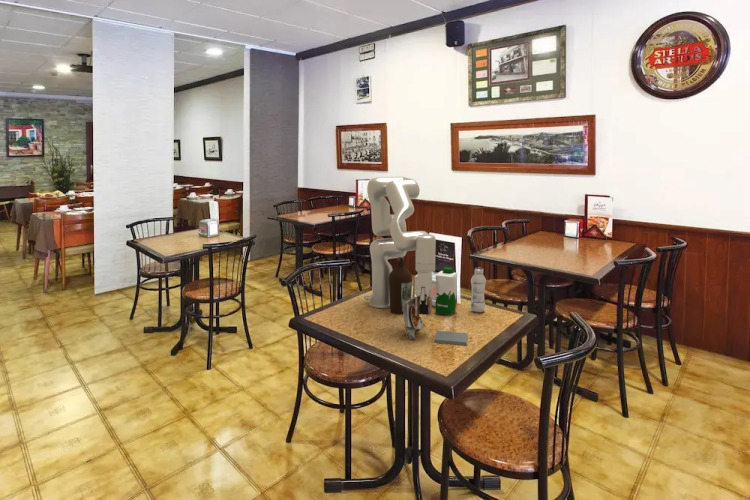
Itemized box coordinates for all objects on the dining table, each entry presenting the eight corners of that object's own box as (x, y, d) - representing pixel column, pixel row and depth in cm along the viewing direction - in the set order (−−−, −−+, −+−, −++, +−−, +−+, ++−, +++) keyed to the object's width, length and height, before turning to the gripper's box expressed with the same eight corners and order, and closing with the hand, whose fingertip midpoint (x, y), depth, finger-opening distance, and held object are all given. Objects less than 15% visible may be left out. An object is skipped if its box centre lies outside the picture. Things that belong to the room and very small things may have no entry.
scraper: (415, 315, 172) (415, 298, 170) (418, 308, 179) (418, 292, 178) (429, 316, 170) (430, 299, 169) (432, 309, 178) (432, 293, 176)
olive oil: (383, 311, 203) (383, 257, 198) (399, 305, 210) (400, 253, 205) (401, 316, 195) (401, 261, 190) (416, 311, 203) (417, 257, 197)
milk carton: (457, 310, 203) (459, 268, 199) (451, 316, 195) (452, 272, 191) (439, 307, 207) (440, 265, 203) (432, 313, 199) (433, 270, 195)
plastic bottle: (486, 314, 198) (488, 270, 194) (471, 314, 198) (472, 270, 194) (483, 309, 204) (485, 266, 200) (468, 309, 204) (470, 266, 200)
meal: (417, 338, 169) (409, 305, 168) (407, 339, 171) (398, 307, 170) (428, 325, 183) (420, 294, 181) (418, 326, 184) (410, 296, 183)
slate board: (434, 342, 168) (434, 339, 168) (436, 333, 177) (436, 330, 177) (466, 345, 165) (466, 342, 165) (467, 336, 174) (467, 333, 174)
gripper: (418, 261, 180) (418, 304, 183) (412, 271, 164) (411, 318, 168) (437, 262, 178) (436, 305, 182) (432, 272, 162) (431, 320, 166)
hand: (424, 311), depth 175 cm, fingers closed on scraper, 4 cm apart
